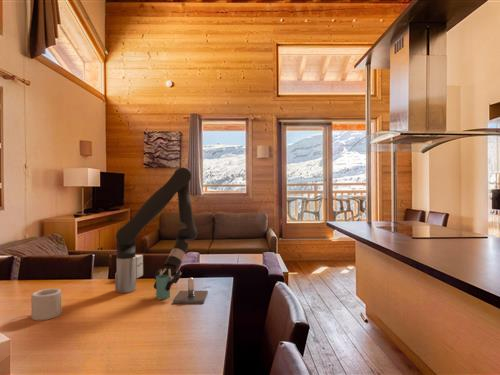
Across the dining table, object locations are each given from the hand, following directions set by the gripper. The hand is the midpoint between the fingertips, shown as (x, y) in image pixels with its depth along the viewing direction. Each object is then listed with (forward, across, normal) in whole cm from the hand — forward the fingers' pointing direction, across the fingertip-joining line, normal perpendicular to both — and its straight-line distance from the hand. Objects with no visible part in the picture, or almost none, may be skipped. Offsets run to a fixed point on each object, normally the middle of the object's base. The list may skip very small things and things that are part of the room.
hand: (160, 289), depth 160 cm
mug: (+28, -33, -22) cm, 48 cm away
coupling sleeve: (+2, 0, +4) cm, 5 cm away
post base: (-1, +14, +7) cm, 15 cm away
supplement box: (-15, -39, +22) cm, 47 cm away
